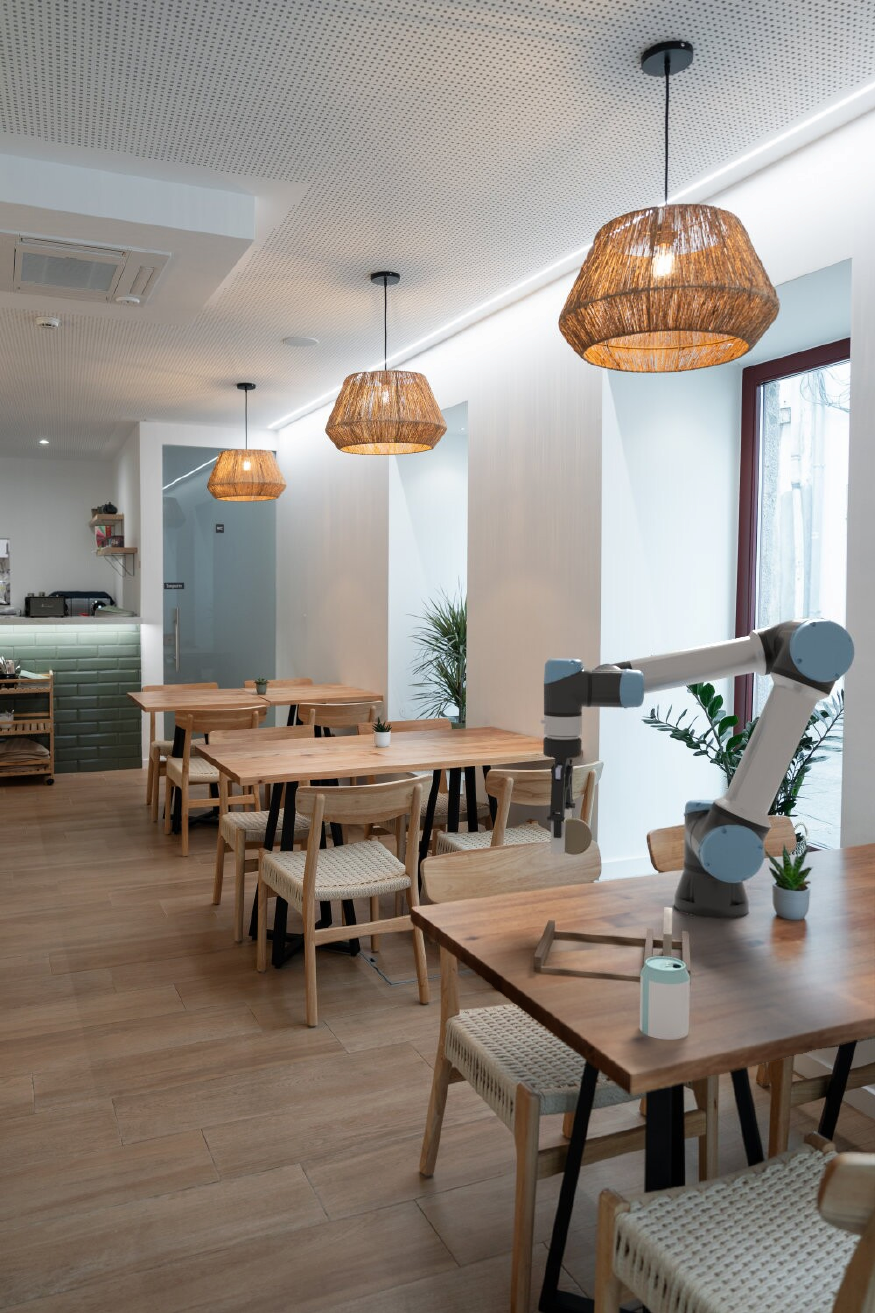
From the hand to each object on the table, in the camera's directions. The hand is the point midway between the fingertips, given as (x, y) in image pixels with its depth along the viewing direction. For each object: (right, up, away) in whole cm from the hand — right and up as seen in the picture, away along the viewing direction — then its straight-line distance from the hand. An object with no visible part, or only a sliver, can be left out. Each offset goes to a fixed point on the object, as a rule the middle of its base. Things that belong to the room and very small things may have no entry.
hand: (561, 846), depth 197 cm
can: (+9, -19, -52) cm, 56 cm away
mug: (+1, -2, +2) cm, 3 cm away
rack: (+7, -17, -21) cm, 28 cm away
